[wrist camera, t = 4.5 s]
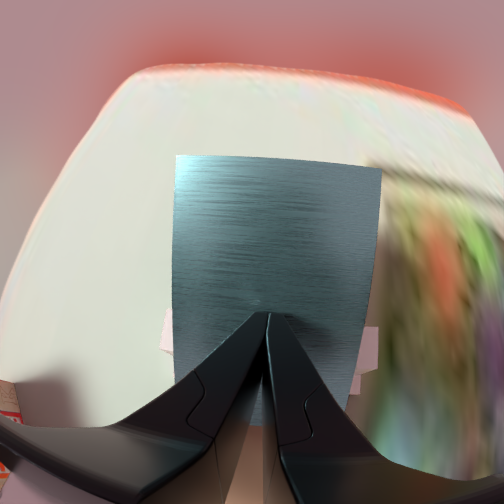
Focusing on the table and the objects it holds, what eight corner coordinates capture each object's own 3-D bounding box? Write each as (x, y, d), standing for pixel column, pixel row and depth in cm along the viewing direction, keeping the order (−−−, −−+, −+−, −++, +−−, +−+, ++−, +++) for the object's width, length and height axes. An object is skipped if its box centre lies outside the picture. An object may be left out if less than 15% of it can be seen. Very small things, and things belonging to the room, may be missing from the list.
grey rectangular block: (339, 430, 10) (381, 169, 8) (177, 413, 10) (177, 155, 9) (326, 366, 15) (349, 180, 13) (207, 355, 15) (214, 170, 14)
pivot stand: (356, 394, 20) (384, 391, 15) (176, 377, 21) (147, 369, 16) (359, 328, 22) (386, 305, 17) (187, 313, 23) (163, 286, 18)
